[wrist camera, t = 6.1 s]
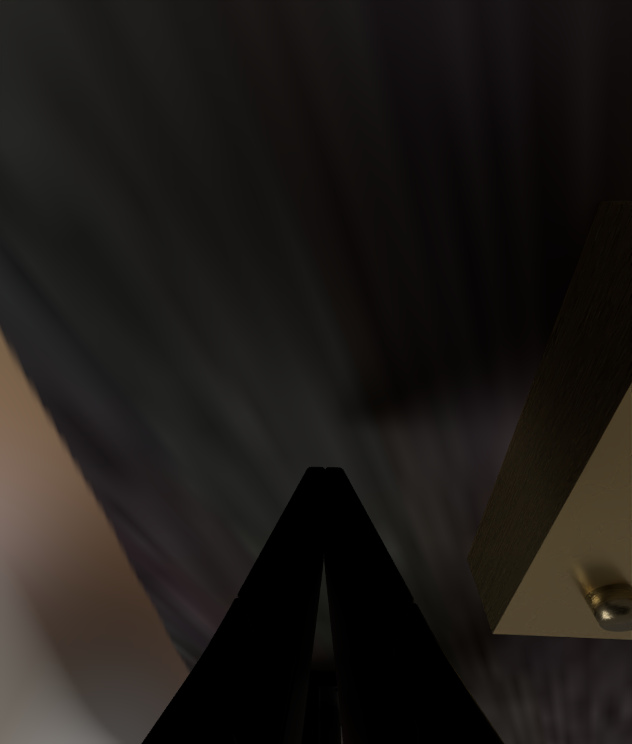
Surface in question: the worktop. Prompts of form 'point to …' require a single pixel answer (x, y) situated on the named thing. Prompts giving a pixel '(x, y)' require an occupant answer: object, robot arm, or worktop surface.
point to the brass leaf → (570, 464)
